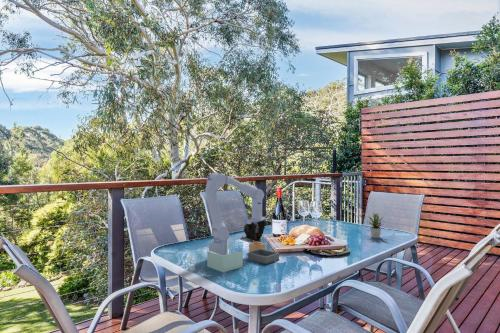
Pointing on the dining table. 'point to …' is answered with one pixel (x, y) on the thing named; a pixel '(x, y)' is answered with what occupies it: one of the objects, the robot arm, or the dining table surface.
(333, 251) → the food plate
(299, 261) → the dining table surface
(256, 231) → the pine cone
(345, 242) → the dining table surface
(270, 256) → the big crate
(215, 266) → the l-shaped corner panel
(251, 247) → the small crate
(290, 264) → the dining table surface
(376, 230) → the house plant
